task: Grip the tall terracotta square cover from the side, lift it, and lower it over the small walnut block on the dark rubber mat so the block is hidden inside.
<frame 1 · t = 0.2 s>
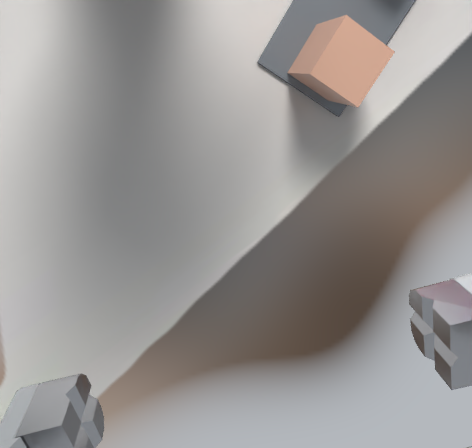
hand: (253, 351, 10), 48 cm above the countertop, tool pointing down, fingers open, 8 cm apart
cover: (322, 63, 54), resting on mat
mat: (352, 2, 52), on the countertop
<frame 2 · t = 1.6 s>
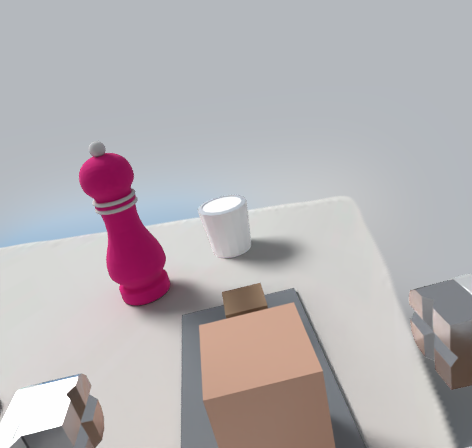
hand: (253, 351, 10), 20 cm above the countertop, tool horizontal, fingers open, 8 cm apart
shot glass: (232, 249, 61), on the countertop
mat: (255, 381, 37), on the countertop
pepper mill: (147, 292, 55), on the countertop
block: (251, 331, 43), resting on mat
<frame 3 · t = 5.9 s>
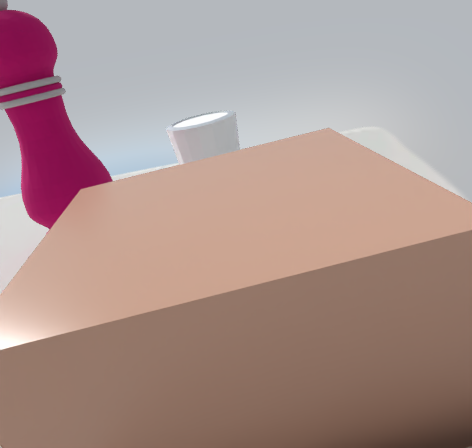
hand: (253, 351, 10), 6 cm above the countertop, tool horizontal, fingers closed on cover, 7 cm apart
shot glass: (217, 188, 43), on the countertop
pepper mill: (90, 242, 37), on the countertop
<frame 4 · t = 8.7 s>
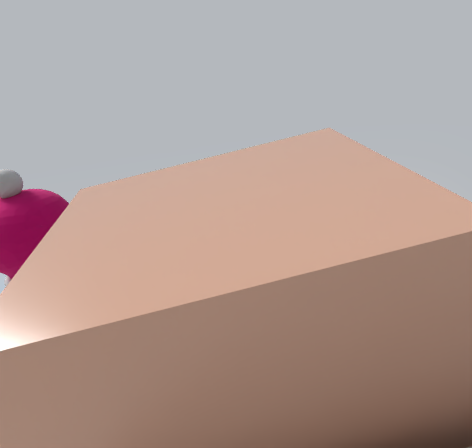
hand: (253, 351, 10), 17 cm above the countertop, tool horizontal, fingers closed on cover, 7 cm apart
pepper mill: (114, 415, 33), on the countertop
when the fingers open (7 cm above the countertop, at t = 11.5 s): cover drops 1 cm, resting on mat.
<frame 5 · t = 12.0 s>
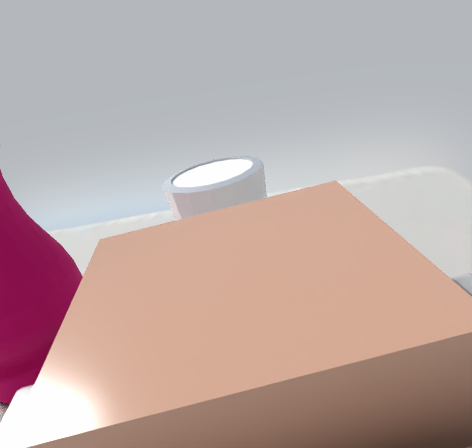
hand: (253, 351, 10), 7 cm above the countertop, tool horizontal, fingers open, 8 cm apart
shot glass: (235, 264, 31), on the countertop
pepper mill: (48, 364, 25), on the countertop
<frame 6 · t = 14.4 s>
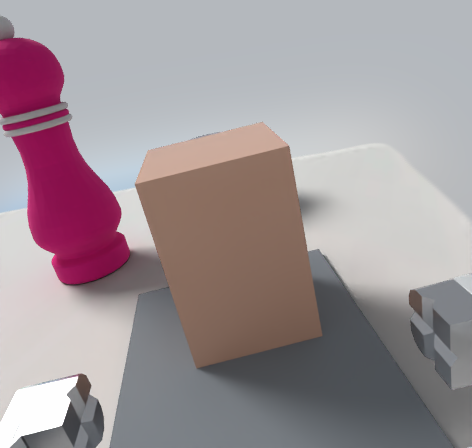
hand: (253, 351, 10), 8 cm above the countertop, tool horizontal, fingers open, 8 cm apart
cover: (250, 315, 24), resting on mat
mat: (256, 408, 19), on the countertop
pepper mill: (96, 267, 37), on the countertop
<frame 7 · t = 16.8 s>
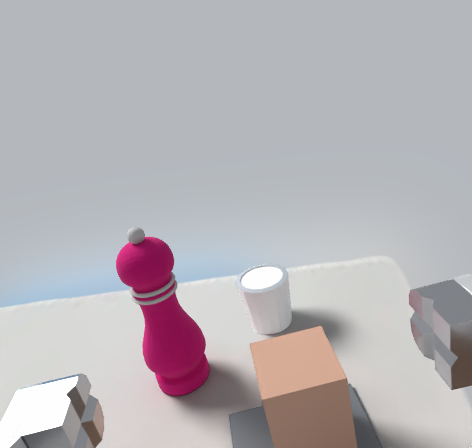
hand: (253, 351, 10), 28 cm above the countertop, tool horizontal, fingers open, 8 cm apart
shot glass: (271, 322, 57), on the countertop
cover: (311, 443, 39), resting on mat
pepper mill: (185, 377, 51), on the countertop
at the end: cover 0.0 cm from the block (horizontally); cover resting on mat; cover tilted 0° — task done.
